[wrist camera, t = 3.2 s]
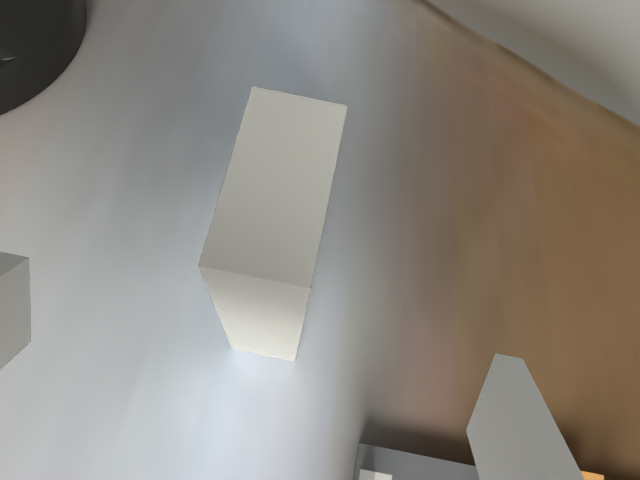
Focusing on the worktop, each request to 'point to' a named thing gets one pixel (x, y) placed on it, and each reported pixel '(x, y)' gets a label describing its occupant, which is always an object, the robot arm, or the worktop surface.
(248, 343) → the panel
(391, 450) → the rack
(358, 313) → the worktop surface
